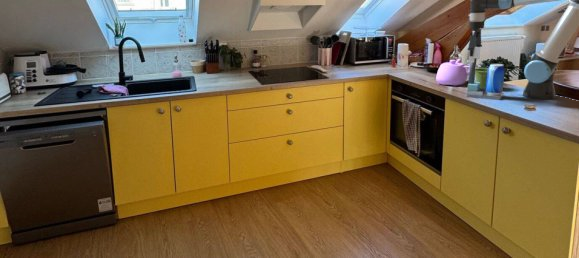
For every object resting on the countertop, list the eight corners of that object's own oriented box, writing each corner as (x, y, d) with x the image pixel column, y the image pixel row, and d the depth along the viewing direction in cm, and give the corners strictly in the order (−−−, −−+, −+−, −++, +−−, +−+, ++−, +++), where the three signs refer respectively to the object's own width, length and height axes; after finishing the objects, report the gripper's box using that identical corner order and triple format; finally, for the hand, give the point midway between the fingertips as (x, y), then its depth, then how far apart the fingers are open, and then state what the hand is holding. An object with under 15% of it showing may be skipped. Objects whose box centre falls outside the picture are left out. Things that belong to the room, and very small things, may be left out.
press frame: (503, 95, 237) (504, 89, 236) (500, 99, 229) (500, 93, 228) (471, 92, 247) (471, 86, 245) (466, 96, 238) (467, 90, 237)
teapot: (467, 88, 258) (469, 63, 253) (432, 85, 270) (434, 61, 266) (477, 81, 275) (479, 58, 270) (444, 78, 287) (446, 56, 283)
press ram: (479, 91, 242) (482, 57, 237) (476, 94, 236) (479, 59, 230) (469, 90, 245) (472, 57, 240) (466, 93, 239) (469, 59, 233)
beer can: (495, 96, 230) (498, 66, 225) (482, 93, 237) (484, 64, 232) (505, 94, 234) (508, 64, 229) (491, 91, 241) (494, 63, 236)
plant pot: (470, 86, 263) (471, 68, 259) (490, 86, 261) (492, 67, 258) (475, 90, 252) (476, 71, 248) (496, 90, 250) (498, 71, 246)
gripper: (474, 19, 241) (471, 57, 248) (464, 22, 222) (461, 63, 228) (488, 19, 237) (485, 57, 243) (479, 22, 218) (476, 64, 224)
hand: (474, 60), depth 236 cm, fingers open, 13 cm apart
